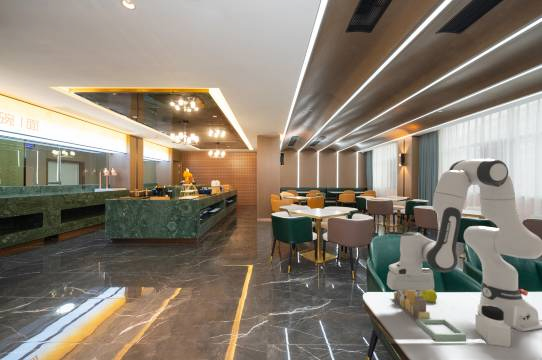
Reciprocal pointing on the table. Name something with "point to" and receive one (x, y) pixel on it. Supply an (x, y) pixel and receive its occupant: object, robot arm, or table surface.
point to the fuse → (409, 297)
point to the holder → (412, 306)
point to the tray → (443, 337)
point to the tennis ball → (429, 295)
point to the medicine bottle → (493, 326)
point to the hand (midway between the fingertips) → (410, 298)
